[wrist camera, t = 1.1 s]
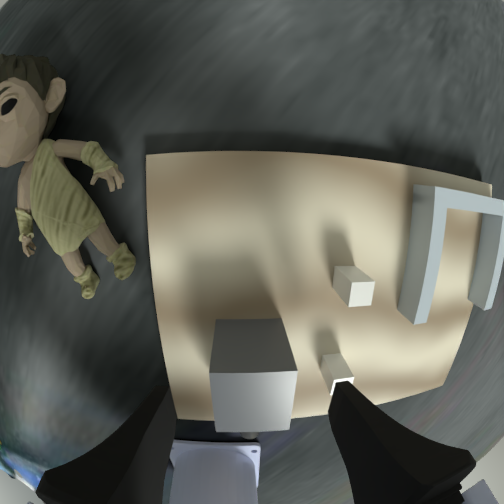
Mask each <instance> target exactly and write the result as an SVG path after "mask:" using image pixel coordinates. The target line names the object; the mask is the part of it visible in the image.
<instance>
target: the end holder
mask: <svg viewBox="0 0 504 504" xmlns="http://www.w3.org/2000/svg"><path fill="white" fill-rule="evenodd" d="M447 208H452V209H460V210H467V211H474V212H480V213H483V217H482V226H481V234H480V241H479V248H478V254H477V259H476V265H475V270H474V274H473V279H472V283H471V288H470V292H469V295H468V299H467V300H469V301H471V302H472V303H474V304H475V305H477V306H478V307H480V308H481V309H483V310H487V309H491V307H492V304H493V300H494V297H495V293H496V289H497V286H498V281H499V277H500V273H501V268H502V263H503V258H504V201H503V200H499V199H495V198H491V197H486V196H482V195H477V194H473V193H468V192H463V191H458V190H453V189H447V188H442V187H436V186H427V185H417V184H414V185H413V204H412V217H411V227H410V236H409V245H408V252H407V259H406V265H405V272H404V277H403V283H402V288H401V293H400V298H399V303H398V308H397V310H398V311H399V312H400V313H401V314H402V315H403V316H404V317H406V318H407V319H408V320H409V321H410V322H411V323H412V324H413V325H415V324H421V323H426V322H427V318H428V315H429V311H430V307H431V303H432V299H433V295H434V291H435V286H436V281H437V276H438V271H439V266H440V260H441V254H442V248H443V241H444V233H445V225H446V215H447Z"/></svg>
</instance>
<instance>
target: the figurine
mask: <svg viewBox="0 0 504 504" xmlns="http://www.w3.org/2000/svg"><path fill="white" fill-rule="evenodd" d="M65 92H66V84H65V80H63V79H61V78H59V77H58V73H57V71H56V69H55V68H54V67H53V66H52V65H50V63H49V59H48V58H46V57H43V56H42V57H35V56H33V55H24V56H17V57H16V55H15V54H14V55H9V56H6V55H4V54H0V167H9V166H11V165H14V164H16V163H18V162H21V161H26V162H25V164H24V165H23V167H22V169H21V174H20V176H19V180H18V199H17V203H18V207H17V208H15V212H16V215H17V220H18V225H19V231H20V236H19V240H20V241H21V242H22V247H23V252H24V253H25V254H26V255H27V256H28V257H30V255H31V254H32V255H34V251H32V250H31V249H29V246H30V247H31V248H33V249H34V250H35V249H36V246H35V245H34V243H33V242H32V238H33V237H34V234H33V221H32V220H33V218H34V220H35V222H36V223H37V225H38V227H39V229H40V230H41V232H42V233H43V235H44V236H45V238H46V239H47V241H48V243H49V244H50V246H51V247H52V248H53V250H54V252H55V253H57V254H58V255H60V256H61V257H62V259H63V261H64V263H65V265H66V267H67V269H68V270H69V271H70V272H71V273H72V274H73V275H74V281H75V282H79V283H80V285H81V287H82V289H81V292H82V297H83V298H85V299H90V298H92V297H93V296H94V294H95V290H96V288H97V286H98V284H99V281H100V280H99V277H98V276H97V275H96V274H95V273H94V272H93V270H92V267H91V266H90V265H87V266H86V265H85V264H84V263H83V261H82V258H81V254H80V251H79V248H78V247H79V246H80V244H81V243H82V241H83V240H84V239H85V238H86V237H88V238H89V239H90V240H91V242H92V243H93V244H94V245H95V246H96V247H97V249H98V250H99V251H100V252H102V253H103V254H105V255H106V256H107V257H106V259H107V260H108V261H109V262H113V264H114V266H115V267H114V273H115V276H116V277H117V278H118V279H120V280H124V279H126V278H127V277H129V276H130V274H131V273H132V272H133V270H134V266H135V264H136V259H135V256H134V255H133V254H132V253H131V252H130V251H129V250H128V248H127V244H125V243H121V244H118V243H117V242H116V241H115V239H114V237H113V235H112V234H111V232H110V230H109V228H108V227H107V225H106V223H105V220H104V218H103V217H102V215H101V212H100V211H99V209H98V207H97V206H96V204H95V203H94V202H93V200H92V199H91V198H90V196H89V195H88V193H87V192H86V191H85V190H84V188H83V187H82V186H81V184H80V183H79V182H78V181H77V180H76V179H75V178H74V177H72V175H71V173H70V172H69V170H68V168H67V167H66V164H65V162H64V159H63V157H66V158H71V159H75V160H80V161H82V162H83V163H84V164H86V165H88V166H90V167H91V168H92V169H93V170H94V172H93V176H92V179H91V183H90V185H94V184H95V183H96V181H97V179H98V178H102V179H105V180H107V183H108V186H109V190H110V192H113V191H114V190H115V183H116V186H117V188H118V189H121V188H122V183H124V178H123V175H122V173H121V172H120V171H119V170H118V165H117V164H116V163H114V162H113V161H111V160H110V159H109V157H108V156H107V155H106V154H105V153H104V151H103V150H102V148H101V146H100V145H99V143H98V142H94V141H89V142H84V141H76V140H65V139H58V140H57V141H54V140H52V139H47V138H48V136H49V135H50V133H51V131H52V130H53V128H54V126H55V124H56V120H57V117H58V115H59V113H60V112H61V110H62V109H63V106H64V102H65V99H66V96H65ZM113 177H114V180H115V183H114V180H113ZM28 245H29V246H28Z"/></svg>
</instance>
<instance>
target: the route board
mask: <svg viewBox="0 0 504 504" xmlns="http://www.w3.org/2000/svg"><path fill="white" fill-rule="evenodd" d="M414 184H417V185H427V186H436V187H442V188H447V189H453V190H458V191H463V192H468V193H473V194H477V195H482V196H486V197H491V193H492V185H491V184H487V183H484V182H480V181H476V180H473V179H469V178H465V177H461V176H457V175H452V174H448V173H444V172H439V171H434V170H429V169H424V168H419V167H414V166H408V165H403V164H397V163H390V162H384V161H377V160H369V159H362V158H353V157H344V156H334V155H323V154H310V153H294V152H272V151H203V152H180V153H165V154H152V155H146V194H147V220H148V236H149V250H150V261H151V271H152V281H153V289H154V297H155V305H156V312H157V319H158V325H159V331H160V337H161V343H162V349H163V354H164V359H165V365H166V369H167V374H168V379H169V384H170V388H171V392H172V397H173V401H174V405H175V409H176V413H177V417H178V419H189V420H207V421H214V413H213V405H212V397H211V388H210V379H209V368H210V360H211V352H212V345H213V337H214V330H215V323H216V319H274V318H282V321H283V324H284V327H285V330H286V334H287V337H288V340H289V343H290V346H291V350H292V353H293V356H294V359H295V363H296V366H297V369H298V374H297V381H296V388H295V395H294V401H293V408H292V414H291V418H300V417H309V416H317V415H324V414H328V409H329V406H330V402H331V398H332V395H330V394H329V391H328V389H327V386H326V384H325V381H324V379H323V376H322V374H321V372H320V367H321V361H322V355H327V354H336V353H341V354H342V356H343V357H344V359H345V361H346V363H347V365H348V366H349V368H350V370H351V372H352V374H353V375H354V380H353V383H352V384H353V385H354V386H355V387H356V388H357V389H358V390H359V391H360V392H361V393H362V394H363V395H364V396H365V397H367V398H368V399H369V400H370V401H371V402H372V403H373V404H374V405H377V404H382V403H386V402H390V401H394V400H397V399H401V398H404V397H408V396H411V395H415V394H418V393H421V392H424V391H427V390H430V389H433V388H436V387H439V386H442V385H443V383H444V381H445V379H446V377H447V375H448V372H449V370H450V368H451V365H452V363H453V361H454V358H455V356H456V353H457V351H458V348H459V346H460V343H461V340H462V337H463V335H464V332H465V329H466V326H467V323H468V320H469V317H470V313H471V310H472V307H473V303H472V302H471V301H469V300H467V299H468V295H469V292H470V288H471V283H472V279H473V274H474V270H475V265H476V259H477V254H478V248H479V241H480V234H481V226H482V217H483V213H480V212H474V211H467V210H460V209H452V208H447V215H446V225H445V233H444V241H443V248H442V254H441V260H440V266H439V271H438V276H437V281H436V286H435V291H434V295H433V299H432V303H431V307H430V311H429V315H428V318H427V322H426V323H421V324H415V325H413V324H412V323H411V322H410V321H409V320H408V319H407V318H406V317H404V316H403V315H402V314H401V313H400V312H399V311H398V310H397V308H398V303H399V298H400V293H401V288H402V283H403V277H404V272H405V265H406V259H407V252H408V245H409V236H410V227H411V217H412V204H413V185H414ZM335 266H356V267H358V268H359V269H360V270H361V271H363V272H364V273H365V274H366V275H368V276H369V277H370V278H371V279H373V280H374V281H375V285H374V291H373V297H372V303H371V305H369V306H357V307H348V306H347V305H346V304H345V302H344V301H343V300H342V299H341V298H340V296H339V295H338V294H337V293H336V292H335V290H334V289H333V288H332V285H333V276H334V267H335Z"/></svg>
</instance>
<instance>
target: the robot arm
mask: <svg viewBox="0 0 504 504" xmlns="http://www.w3.org/2000/svg"><path fill="white" fill-rule="evenodd" d="M328 415H329V420H330V424H331V428H332V432H333V434H334V437H335V440H336V442H337V445H338V447H339V450H340V453H341V455H342V458H343V460H344V463H345V465H346V468H347V472H348V475H349V479H350V484H351V488H352V493H353V498H354V504H498V502H497V500H496V498H495V497H494V495H493V494H492V492H491V490H490V489H489V487H488V485H487V484H486V482H485V481H484V479H482V480H481V481H479V482H478V483H476V484H475V485H474V486H472V487H471V488H469V489H468V490H466V491H465V492H464V493H462V494H461V493H460V491H459V490H461V489H462V486H461V484H460V482H461V481H462V480H463V479H464V478H465V477H466V476H467V475H468V474H469V473H470V472H471V471H472V470H473V469H474V468H475V466H476V461H475V460H474V458H473V457H472V455H471V454H470V452H469V451H468V450H465V449H460V448H455V447H451V446H447V445H444V444H441V443H438V442H435V441H432V440H430V439H428V438H425V437H423V436H421V435H419V434H417V433H415V432H413V431H411V430H409V429H408V428H406V427H404V426H403V425H401V424H399V423H398V422H396V421H395V420H394V419H392V418H391V417H389V416H388V415H387V414H385V413H384V412H383V411H382V410H380V409H379V408H378V407H377V406H376V405H374V404H373V403H372V402H371V401H370V400H369V399H368V398H367V397H365V396H364V395H363V394H362V393H361V392H360V391H359V390H358V389H357V388H356V387H355V386H354V385H353V384H351V383H350V382H349V381H341V382H336V383H335V387H334V391H333V395H332V398H331V402H330V406H329V409H328ZM176 421H177V414H176V410H175V407H174V403H173V398H172V394H171V390H170V387H168V386H157V385H156V386H155V387H154V388H153V390H152V391H151V392H150V393H149V395H148V396H147V397H146V399H145V400H144V401H143V402H142V403H141V405H140V406H139V407H138V408H137V409H136V410H135V411H134V413H133V414H132V415H131V416H130V417H129V418H128V419H127V420H126V421H125V422H124V423H123V424H122V425H121V426H120V427H119V428H118V429H117V430H116V431H115V432H114V433H113V434H112V435H110V436H109V437H108V438H107V439H105V440H104V441H103V442H102V443H100V444H99V445H97V446H96V447H95V448H93V449H92V450H90V451H89V452H87V453H85V454H84V455H82V456H80V457H78V458H76V459H74V460H72V461H70V462H68V463H66V464H64V465H61V466H58V467H56V468H53V469H50V470H47V471H45V473H44V474H43V476H42V478H41V480H40V483H39V485H38V487H37V490H36V494H37V496H38V497H39V498H40V499H41V500H42V501H44V502H45V503H46V504H162V497H163V487H164V479H165V473H166V469H167V465H168V461H169V457H170V459H171V461H172V464H173V466H174V474H173V480H172V487H171V493H170V500H169V504H258V498H257V487H258V478H259V464H260V444H259V443H257V442H244V443H223V442H198V441H184V440H174V437H175V430H176ZM27 504H33V503H31V502H28V503H27Z"/></svg>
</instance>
